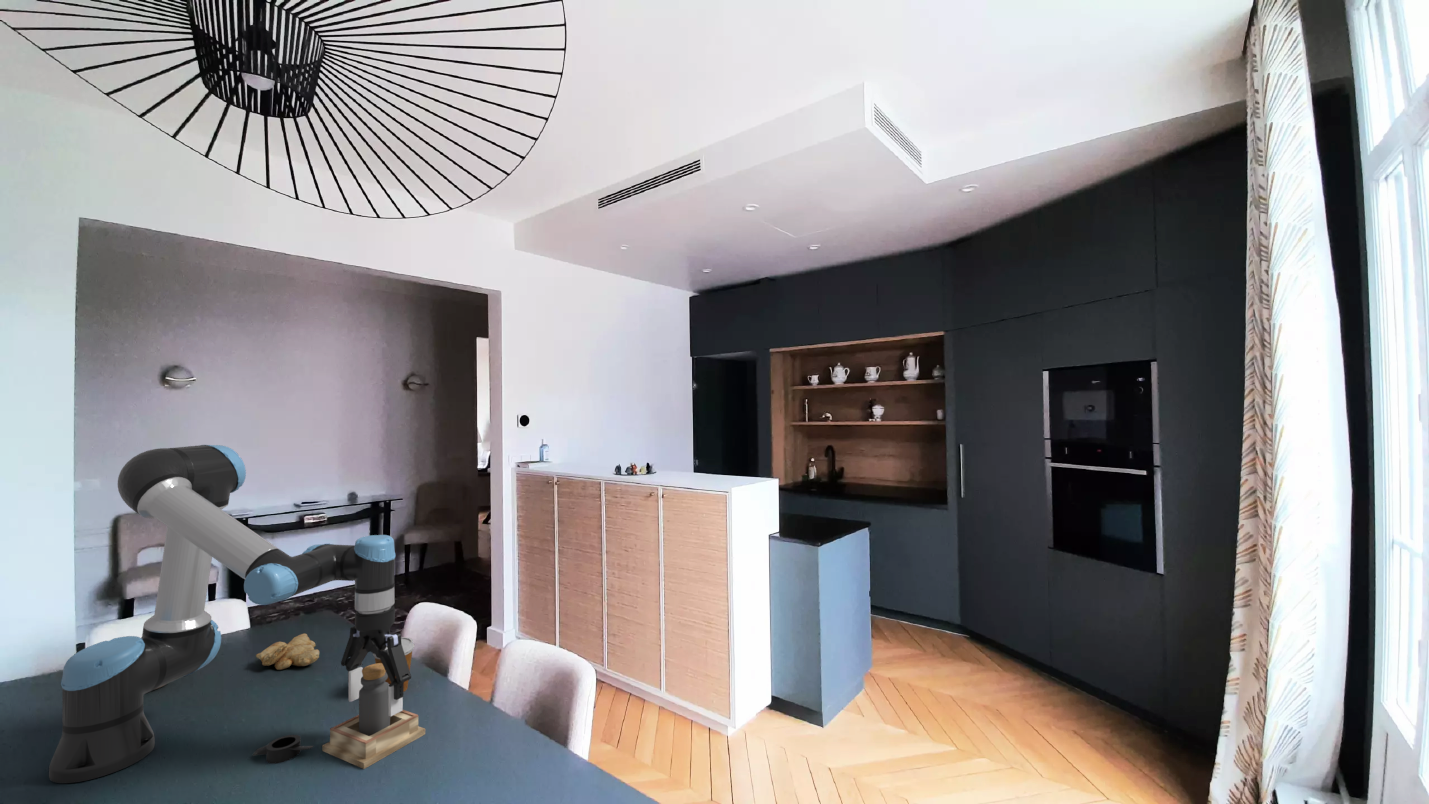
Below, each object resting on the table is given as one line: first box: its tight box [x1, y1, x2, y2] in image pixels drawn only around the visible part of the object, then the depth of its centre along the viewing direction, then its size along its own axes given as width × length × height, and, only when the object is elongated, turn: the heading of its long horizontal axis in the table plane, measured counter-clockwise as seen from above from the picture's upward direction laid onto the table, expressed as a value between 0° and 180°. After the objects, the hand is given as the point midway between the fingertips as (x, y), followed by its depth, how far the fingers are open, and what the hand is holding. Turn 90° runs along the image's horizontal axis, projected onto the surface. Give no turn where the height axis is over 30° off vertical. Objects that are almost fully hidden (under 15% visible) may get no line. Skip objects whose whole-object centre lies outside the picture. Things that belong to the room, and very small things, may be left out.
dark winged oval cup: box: [251, 734, 315, 765], centre depth 124 cm, size 8×10×3 cm
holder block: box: [321, 709, 426, 770], centre depth 128 cm, size 14×14×4 cm
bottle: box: [358, 663, 390, 736], centre depth 128 cm, size 6×6×15 cm
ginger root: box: [255, 633, 320, 671], centre depth 167 cm, size 16×16×8 cm
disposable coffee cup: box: [372, 636, 415, 692], centre depth 151 cm, size 10×10×12 cm
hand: (375, 706), depth 128 cm, fingers open, 13 cm apart
